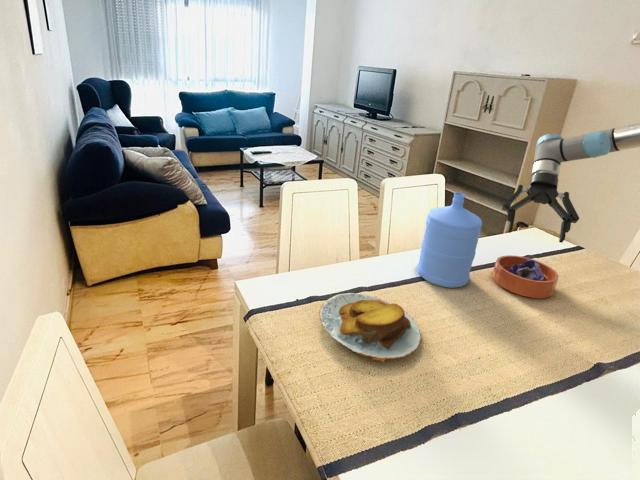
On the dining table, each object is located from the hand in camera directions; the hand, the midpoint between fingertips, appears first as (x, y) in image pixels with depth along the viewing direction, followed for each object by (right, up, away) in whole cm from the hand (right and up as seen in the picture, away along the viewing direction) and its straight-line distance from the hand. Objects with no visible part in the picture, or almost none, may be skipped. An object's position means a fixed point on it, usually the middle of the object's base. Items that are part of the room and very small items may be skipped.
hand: (535, 235), depth 118 cm
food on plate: (-56, -23, -20) cm, 64 cm away
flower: (-2, -16, +3) cm, 16 cm away
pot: (-2, -16, +4) cm, 16 cm away
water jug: (-26, -14, +7) cm, 30 cm away
